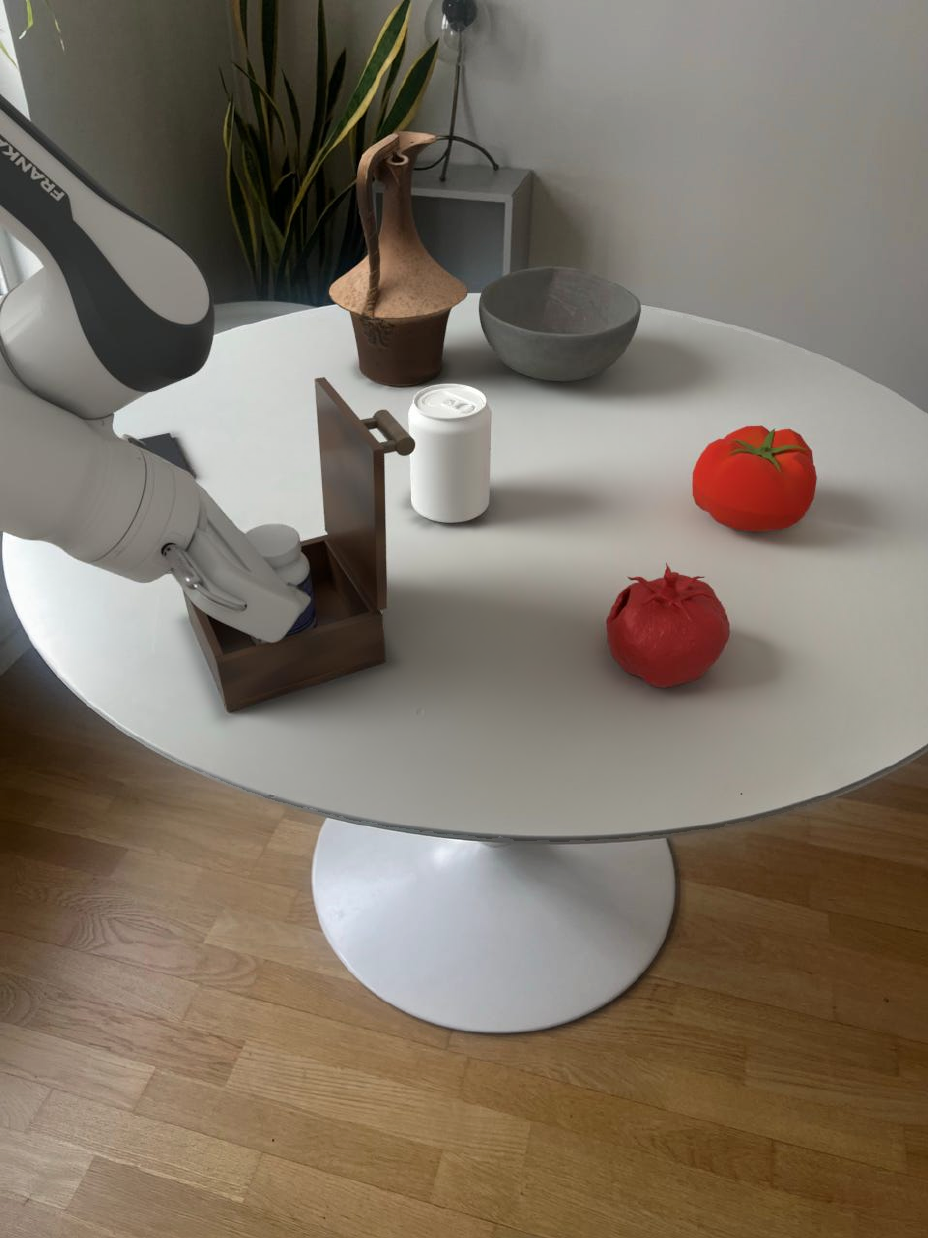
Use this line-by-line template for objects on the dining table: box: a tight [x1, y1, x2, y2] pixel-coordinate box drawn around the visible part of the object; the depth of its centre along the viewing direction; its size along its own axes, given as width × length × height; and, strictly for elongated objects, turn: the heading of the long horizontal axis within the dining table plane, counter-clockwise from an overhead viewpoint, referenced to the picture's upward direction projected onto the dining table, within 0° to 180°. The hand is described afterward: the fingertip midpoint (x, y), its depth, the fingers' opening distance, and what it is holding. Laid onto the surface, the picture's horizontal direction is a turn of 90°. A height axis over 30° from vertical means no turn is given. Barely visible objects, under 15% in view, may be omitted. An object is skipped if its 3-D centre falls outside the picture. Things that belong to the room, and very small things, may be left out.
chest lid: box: [314, 376, 415, 611], centre depth 75 cm, size 14×13×5 cm
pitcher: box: [328, 130, 469, 386], centre depth 113 cm, size 18×17×28 cm
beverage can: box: [407, 383, 493, 524], centre depth 93 cm, size 8×8×12 cm
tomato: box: [691, 425, 818, 532], centre depth 93 cm, size 13×12×8 cm
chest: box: [181, 533, 386, 713], centre depth 79 cm, size 14×13×5 cm
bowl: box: [478, 266, 642, 382], centre depth 118 cm, size 20×20×10 cm
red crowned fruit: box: [605, 562, 731, 688], centre depth 76 cm, size 10×10×9 cm
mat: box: [137, 432, 191, 474], centre depth 102 cm, size 10×10×1 cm
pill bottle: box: [244, 523, 317, 645], centre depth 77 cm, size 6×6×10 cm
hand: (283, 579), depth 77 cm, fingers closed on pill bottle, 6 cm apart
